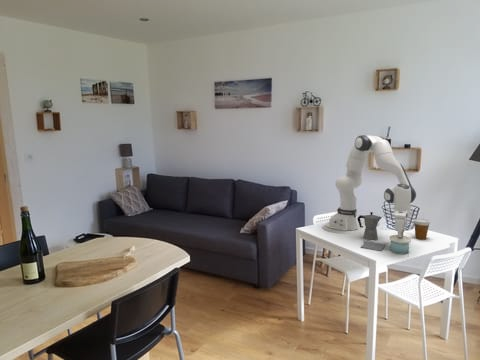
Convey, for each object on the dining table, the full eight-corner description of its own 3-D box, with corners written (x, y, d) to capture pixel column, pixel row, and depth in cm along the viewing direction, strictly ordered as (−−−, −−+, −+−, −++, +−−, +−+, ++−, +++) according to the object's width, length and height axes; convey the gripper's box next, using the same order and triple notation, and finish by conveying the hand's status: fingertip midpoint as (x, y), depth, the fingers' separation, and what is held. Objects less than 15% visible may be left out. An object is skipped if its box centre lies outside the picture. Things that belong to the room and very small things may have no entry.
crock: (388, 252, 210) (388, 240, 209) (391, 246, 219) (392, 235, 218) (407, 255, 204) (408, 243, 203) (410, 249, 213) (411, 238, 212)
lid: (387, 240, 209) (388, 232, 208) (391, 235, 218) (391, 227, 218) (409, 244, 203) (409, 235, 202) (412, 238, 212) (412, 230, 211)
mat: (360, 247, 218) (360, 246, 218) (365, 241, 228) (365, 241, 228) (381, 251, 212) (381, 250, 211) (385, 245, 221) (385, 244, 221)
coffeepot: (379, 236, 238) (380, 210, 235) (382, 241, 229) (383, 214, 226) (355, 235, 240) (356, 210, 237) (357, 240, 231) (358, 213, 228)
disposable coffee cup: (425, 235, 237) (426, 218, 235) (431, 240, 228) (432, 222, 226) (410, 235, 238) (411, 218, 236) (415, 240, 229) (417, 222, 227)
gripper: (399, 207, 218) (398, 229, 220) (393, 215, 201) (392, 238, 203) (410, 208, 215) (409, 230, 217) (405, 216, 198) (404, 240, 200)
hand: (400, 234), depth 210 cm, fingers open, 8 cm apart
